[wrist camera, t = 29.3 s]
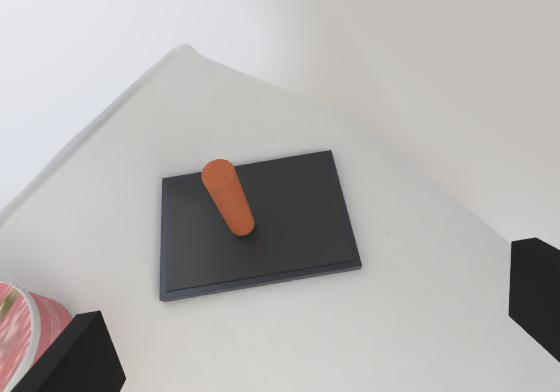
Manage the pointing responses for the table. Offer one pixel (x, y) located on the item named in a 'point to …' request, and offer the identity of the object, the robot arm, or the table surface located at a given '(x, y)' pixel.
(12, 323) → the container
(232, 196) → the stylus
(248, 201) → the plate
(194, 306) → the table surface
